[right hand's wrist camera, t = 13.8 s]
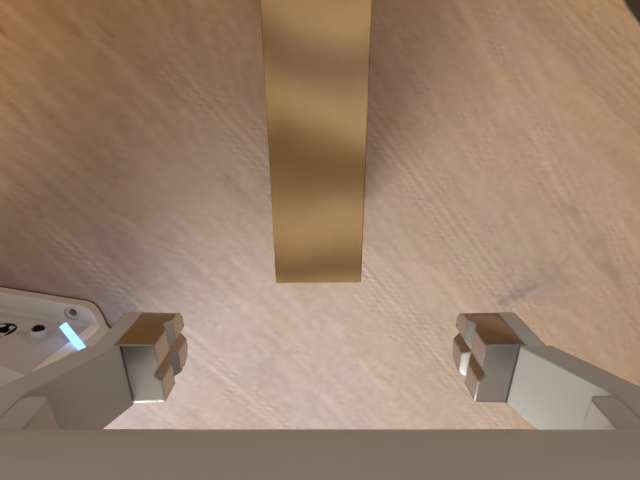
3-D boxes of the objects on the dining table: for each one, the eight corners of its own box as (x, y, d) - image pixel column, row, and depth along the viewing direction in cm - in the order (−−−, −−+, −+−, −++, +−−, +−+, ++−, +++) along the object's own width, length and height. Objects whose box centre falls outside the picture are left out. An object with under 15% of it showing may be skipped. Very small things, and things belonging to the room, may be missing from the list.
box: (347, 224, 36) (360, 282, 24) (290, 224, 36) (276, 283, 24) (355, -132, 26) (384, -331, 14) (277, -131, 26) (241, -330, 14)
